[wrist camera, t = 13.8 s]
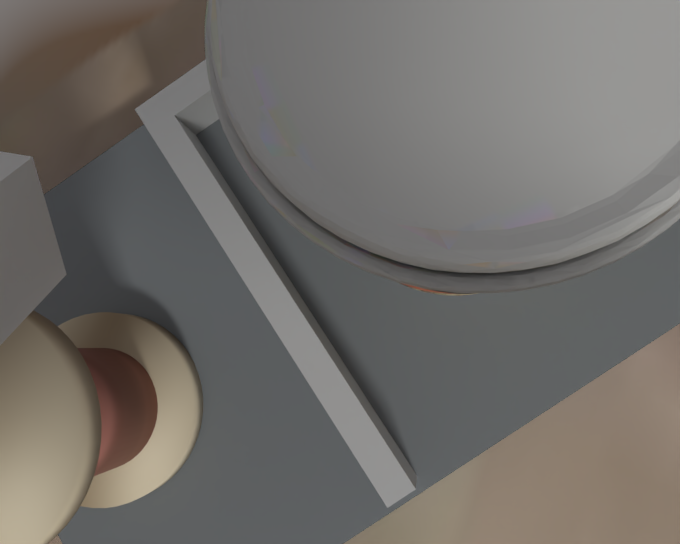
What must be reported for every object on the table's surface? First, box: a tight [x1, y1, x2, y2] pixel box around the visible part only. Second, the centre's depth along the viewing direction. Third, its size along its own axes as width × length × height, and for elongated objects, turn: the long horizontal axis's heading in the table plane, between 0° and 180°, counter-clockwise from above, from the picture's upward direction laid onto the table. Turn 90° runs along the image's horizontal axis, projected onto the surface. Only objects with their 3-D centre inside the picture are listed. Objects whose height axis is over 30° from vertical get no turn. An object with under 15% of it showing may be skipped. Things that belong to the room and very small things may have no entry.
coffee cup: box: [205, 0, 680, 296], centre depth 16 cm, size 9×9×12 cm
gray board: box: [33, 59, 680, 544], centre depth 22 cm, size 28×16×4 cm, turn 124°
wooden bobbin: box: [0, 311, 203, 544], centre depth 19 cm, size 6×6×8 cm
